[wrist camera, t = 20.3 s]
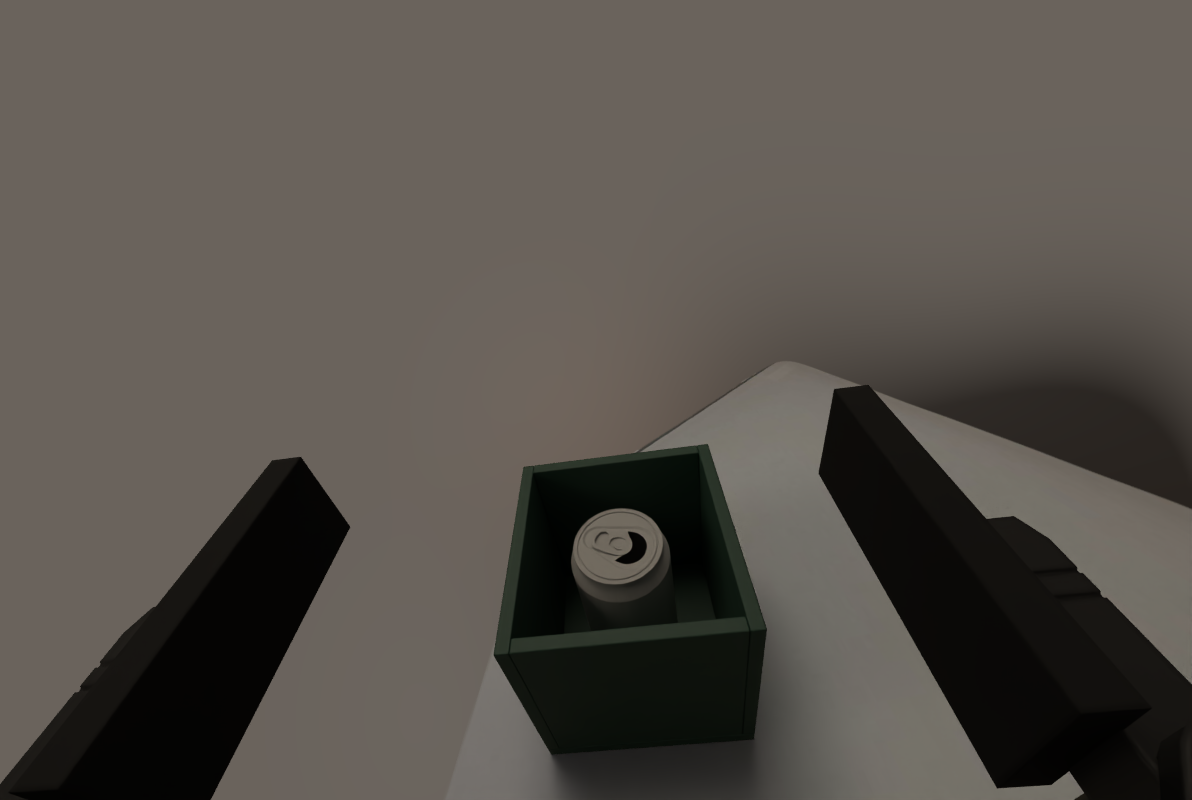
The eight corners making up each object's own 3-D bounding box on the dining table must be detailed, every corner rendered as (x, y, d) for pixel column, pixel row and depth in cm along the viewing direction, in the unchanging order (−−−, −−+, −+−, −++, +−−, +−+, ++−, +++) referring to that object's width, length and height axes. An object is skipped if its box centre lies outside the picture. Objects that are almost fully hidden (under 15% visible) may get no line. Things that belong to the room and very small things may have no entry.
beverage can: (664, 698, 32) (649, 603, 25) (582, 664, 35) (549, 571, 28) (688, 614, 37) (681, 515, 30) (614, 590, 39) (592, 494, 32)
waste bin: (551, 755, 32) (493, 655, 23) (560, 576, 43) (523, 466, 34) (754, 739, 30) (767, 629, 22) (709, 560, 42) (707, 443, 33)
